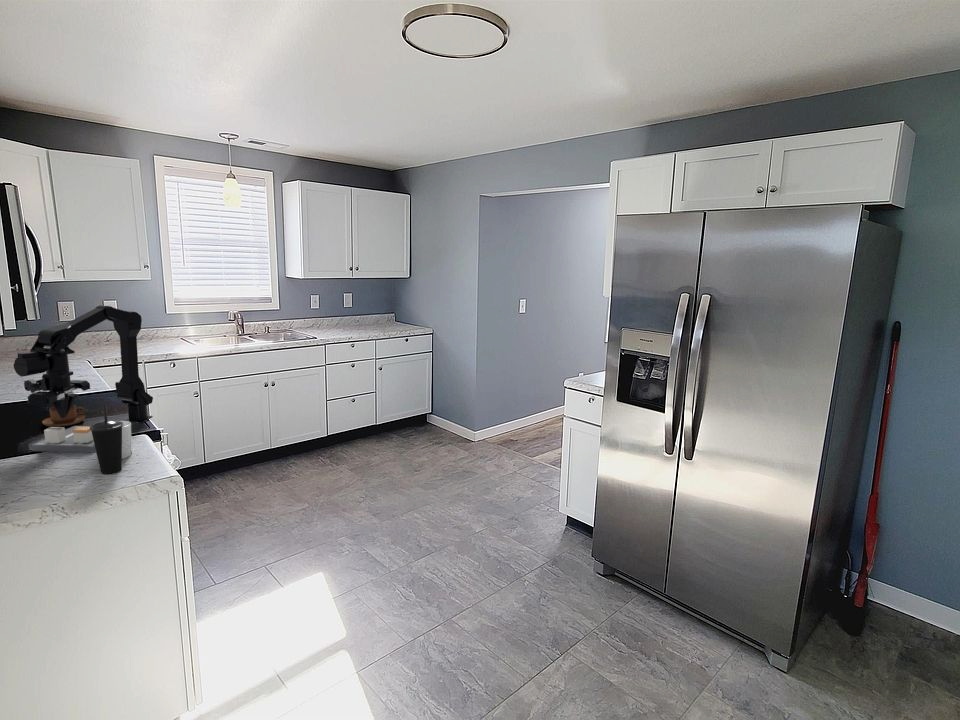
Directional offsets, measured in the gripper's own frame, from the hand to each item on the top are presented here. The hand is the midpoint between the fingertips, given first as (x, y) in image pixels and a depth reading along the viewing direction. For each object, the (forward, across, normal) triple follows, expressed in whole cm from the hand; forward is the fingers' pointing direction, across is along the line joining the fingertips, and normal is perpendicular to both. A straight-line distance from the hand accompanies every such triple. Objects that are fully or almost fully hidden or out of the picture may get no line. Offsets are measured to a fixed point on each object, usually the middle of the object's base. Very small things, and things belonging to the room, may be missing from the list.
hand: (63, 418), depth 169 cm
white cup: (+9, +9, +22) cm, 25 cm away
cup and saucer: (+9, -18, -14) cm, 25 cm away
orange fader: (+6, +3, +8) cm, 11 cm away
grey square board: (+8, -2, +4) cm, 9 cm away
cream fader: (+6, +4, 0) cm, 7 cm away
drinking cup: (+8, +20, +27) cm, 35 cm away
